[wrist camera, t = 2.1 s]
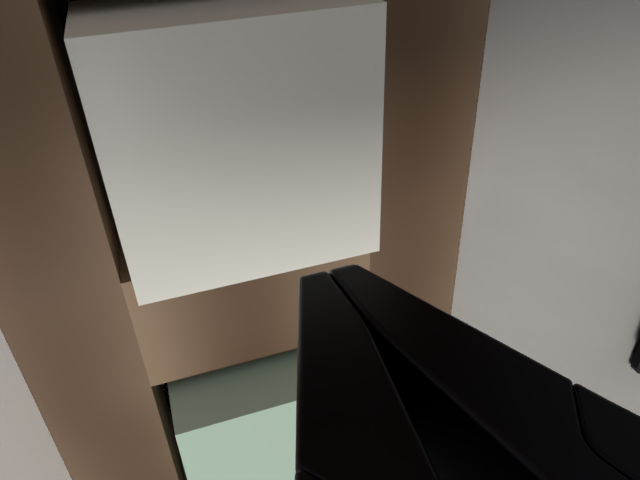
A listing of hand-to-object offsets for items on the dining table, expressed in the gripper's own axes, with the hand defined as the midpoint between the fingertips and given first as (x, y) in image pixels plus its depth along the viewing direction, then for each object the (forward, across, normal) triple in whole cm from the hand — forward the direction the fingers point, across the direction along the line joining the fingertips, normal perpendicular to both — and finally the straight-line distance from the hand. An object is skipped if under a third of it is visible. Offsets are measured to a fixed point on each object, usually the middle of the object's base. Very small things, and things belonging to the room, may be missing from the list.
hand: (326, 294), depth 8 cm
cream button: (+7, 0, 0) cm, 7 cm away
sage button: (+7, 0, +10) cm, 12 cm away
